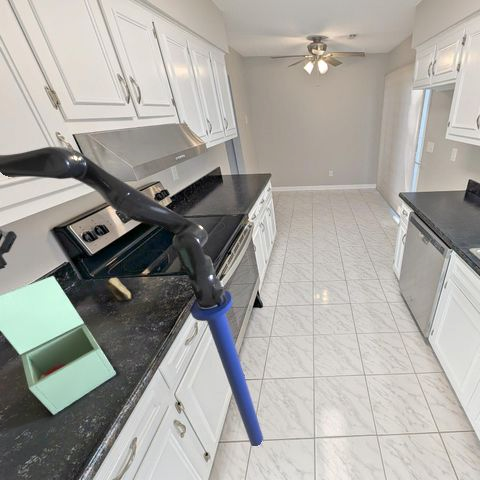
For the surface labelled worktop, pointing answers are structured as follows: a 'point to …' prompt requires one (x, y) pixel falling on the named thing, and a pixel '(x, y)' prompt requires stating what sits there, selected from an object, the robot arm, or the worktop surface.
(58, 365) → the onion
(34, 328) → the lid
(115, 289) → the rock
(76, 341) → the chest
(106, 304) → the worktop surface
